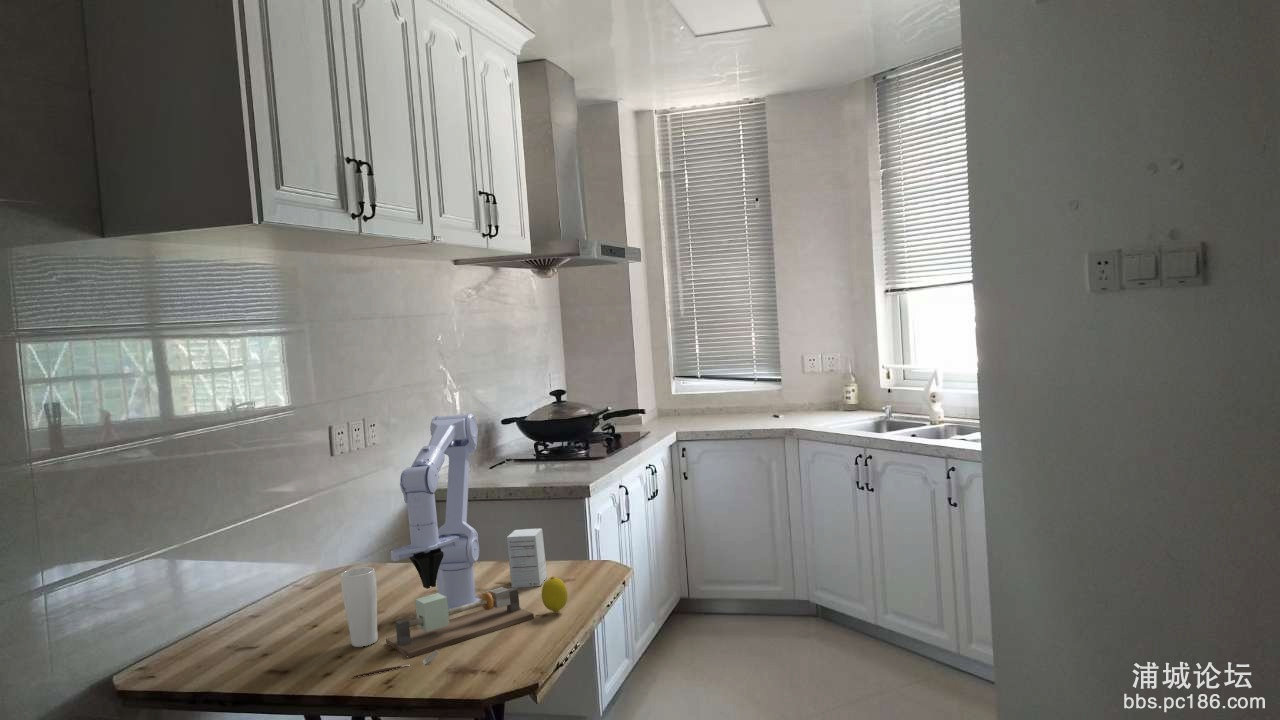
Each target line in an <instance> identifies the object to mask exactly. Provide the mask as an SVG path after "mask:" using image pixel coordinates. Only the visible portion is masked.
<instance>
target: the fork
mask: <svg viewBox="0 0 1280 720" xmlns="http://www.w3.org/2000/svg"><path fill="white" fill-rule="evenodd" d="M438 655H439V651H438V649H436V650H433V652H431V653H430V654H429V655H428V656H427V657H426V658H424V659H423V660H422V661H423V663H424V665H423V666H426V665H427V664H428V663H431V661H432V660H433V659H435V658H436V657H437V656H438ZM425 664H426V665H425ZM404 666H409V667H411V666H410V664H405V665H399V666H391V667H385V668H381V669H377V670H373V671H368V672H364V673H360V674H357V675H354V676H353V675H352V677H358V676H363V675H368V676H370V675H369V674H374V673H379V672H384V671H388V672H390V671H389V670H392V669H396V668H400V667H404ZM404 668H405V667H404ZM400 669H401V668H400ZM396 670H397V669H396ZM392 671H393V670H392ZM384 673H385V672H384ZM379 674H380V673H379ZM374 675H375V674H374ZM363 677H364V676H363ZM358 678H359V677H358Z"/></svg>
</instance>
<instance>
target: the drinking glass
mask: <svg viewBox="0 0 1280 720" xmlns="http://www.w3.org/2000/svg"><path fill="white" fill-rule="evenodd" d="M340 584H341V592H342V601H343V605H344V610H345V616H346V620H347V625H348V631H349V636H350V644H351V645H352V646H353V647H355V648H364V647H363V646H365V647H368V645H369V646H371V644H372V645H374V644H375V643H376V642H377V641H378V639H379V633H378V595H377V594H378V593H377V592H378V591H377V590H378V589H377V588H378V587H377V577H376V572H375V568H374V567H370V566H369V567H368V566H363V567H355V568H351V569H348V570H346V571H344V572H342V573H340ZM373 643H374V644H373Z"/></svg>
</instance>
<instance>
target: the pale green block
mask: <svg viewBox="0 0 1280 720" xmlns="http://www.w3.org/2000/svg"><path fill="white" fill-rule="evenodd" d="M414 602H415V603H414V604H415V611H416V614H415V615H416V619H418V618H422V617H423V624H419V625H417V628H418V629H422V630H424V631H426V632H428V631H431V630H434V629H438V628H441V627H444V626H448V625H450V624H449V620H450V616H449V614H448V604H447V597H446V596H443V595H441V594H439V593H438V592H436V593H433V594H429V595H425V596H422V597H418V598H415V599H414Z"/></svg>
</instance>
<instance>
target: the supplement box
mask: <svg viewBox="0 0 1280 720" xmlns="http://www.w3.org/2000/svg"><path fill="white" fill-rule="evenodd" d="M543 533H544V532H543V528H524V529H514V530H513V531H512V532H511V533H509V535H507V536H506V542H507V543H506V544H507V553H508V564H509V571H510V572H509V575H510V583H511V588H516V589H519V588H534V587H533V586H539V587H541V585H543V584H544V583H545V581H544V580H546V579H547V578H548V574H547V563H546V554H545V553H546V552H545V545H544V544H545V543H544V534H543ZM546 577H547V578H546Z"/></svg>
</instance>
